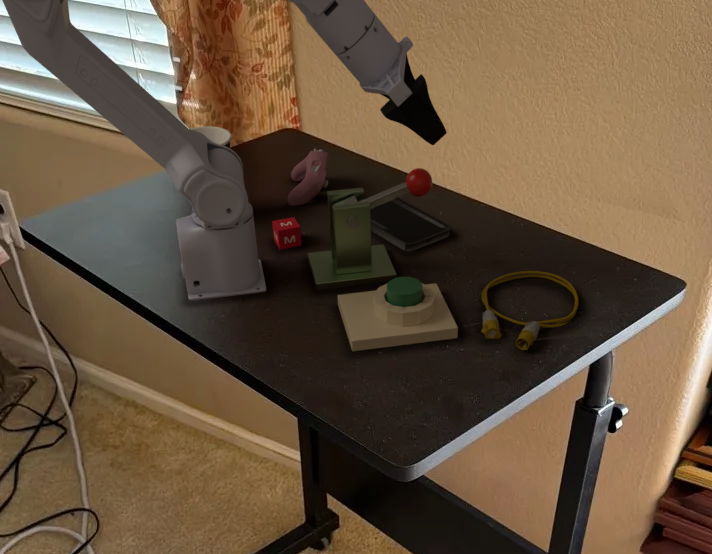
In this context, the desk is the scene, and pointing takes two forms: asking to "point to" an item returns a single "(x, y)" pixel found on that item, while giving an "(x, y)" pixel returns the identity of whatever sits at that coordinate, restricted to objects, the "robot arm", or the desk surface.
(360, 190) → the switch bracket
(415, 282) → the button
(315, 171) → the video game controller
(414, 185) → the switch lever
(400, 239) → the phone
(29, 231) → the desk surface
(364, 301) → the switch plate
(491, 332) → the extension cord
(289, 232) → the red letter cube
